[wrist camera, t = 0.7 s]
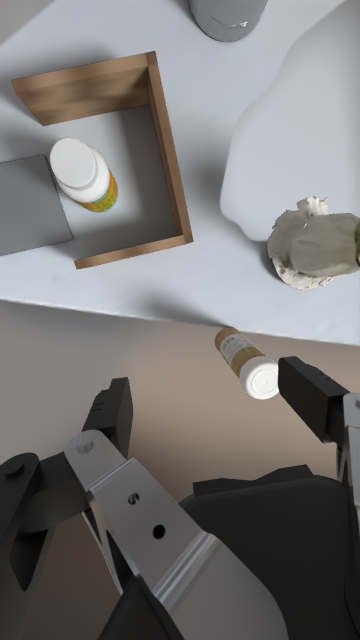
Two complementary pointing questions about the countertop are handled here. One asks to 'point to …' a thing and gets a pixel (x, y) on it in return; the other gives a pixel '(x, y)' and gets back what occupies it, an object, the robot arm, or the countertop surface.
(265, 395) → the sprinkles bottle
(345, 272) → the yellow capped ghost figurine
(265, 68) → the countertop surface
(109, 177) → the supplement bottle
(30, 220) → the grey mat
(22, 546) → the robot arm
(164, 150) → the open box
